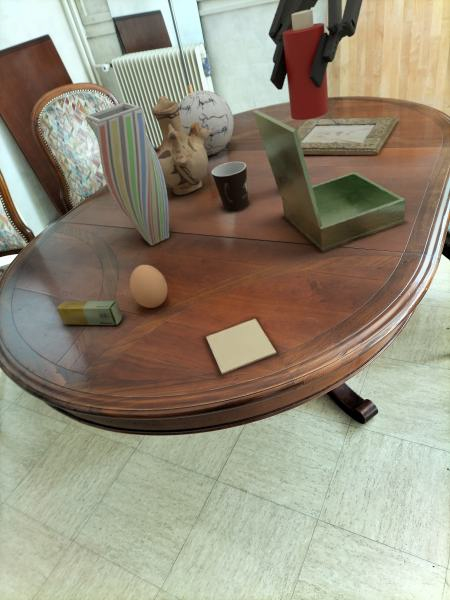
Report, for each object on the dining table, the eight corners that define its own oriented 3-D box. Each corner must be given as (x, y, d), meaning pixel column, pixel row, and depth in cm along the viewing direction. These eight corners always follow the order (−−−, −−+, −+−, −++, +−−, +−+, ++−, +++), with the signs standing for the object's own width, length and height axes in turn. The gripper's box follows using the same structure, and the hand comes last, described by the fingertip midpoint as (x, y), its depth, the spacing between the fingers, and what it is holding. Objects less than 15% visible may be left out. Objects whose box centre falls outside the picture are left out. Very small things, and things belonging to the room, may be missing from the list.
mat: (276, 353, 64) (276, 351, 64) (222, 374, 63) (221, 372, 63) (255, 320, 72) (255, 318, 71) (206, 338, 70) (206, 336, 70)
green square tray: (355, 192, 100) (354, 171, 97) (404, 222, 86) (405, 199, 83) (284, 216, 98) (281, 196, 95) (322, 252, 84) (320, 228, 80)
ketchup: (335, 111, 66) (331, 6, 58) (300, 122, 65) (291, 17, 57) (317, 105, 71) (311, 7, 62) (285, 115, 70) (274, 17, 62)
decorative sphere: (196, 144, 155) (182, 86, 143) (246, 140, 147) (236, 79, 135) (172, 167, 141) (154, 104, 129) (226, 163, 133) (212, 97, 121)
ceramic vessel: (144, 201, 123) (114, 112, 108) (181, 173, 134) (158, 90, 119) (194, 205, 113) (169, 109, 98) (229, 175, 125) (211, 85, 110)
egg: (174, 309, 79) (160, 271, 73) (139, 320, 78) (122, 282, 73) (170, 290, 84) (157, 252, 79) (138, 299, 84) (122, 262, 78)
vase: (142, 259, 96) (90, 126, 78) (122, 240, 106) (72, 117, 88) (192, 235, 100) (154, 103, 82) (168, 218, 110) (130, 98, 92)
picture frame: (377, 156, 115) (378, 146, 113) (276, 155, 129) (275, 147, 128) (397, 122, 132) (397, 114, 130) (306, 125, 146) (305, 117, 145)
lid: (256, 109, 83) (252, 111, 83) (297, 129, 68) (292, 132, 68) (283, 193, 95) (279, 195, 95) (322, 225, 80) (318, 227, 80)
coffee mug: (232, 196, 113) (224, 160, 107) (259, 199, 108) (252, 162, 102) (206, 217, 106) (197, 180, 100) (233, 221, 101) (225, 183, 95)
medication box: (123, 317, 80) (117, 300, 78) (117, 325, 78) (111, 308, 76) (70, 316, 83) (62, 300, 81) (62, 325, 81) (55, 308, 79)
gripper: (410, -64, 60) (363, 94, 60) (294, -35, 71) (255, 98, 71) (398, -114, 53) (346, 63, 54) (273, -73, 64) (231, 73, 65)
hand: (295, 83), depth 63 cm, fingers closed on ketchup, 6 cm apart
